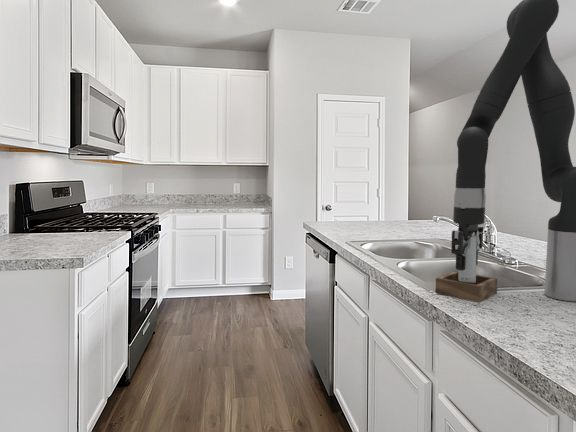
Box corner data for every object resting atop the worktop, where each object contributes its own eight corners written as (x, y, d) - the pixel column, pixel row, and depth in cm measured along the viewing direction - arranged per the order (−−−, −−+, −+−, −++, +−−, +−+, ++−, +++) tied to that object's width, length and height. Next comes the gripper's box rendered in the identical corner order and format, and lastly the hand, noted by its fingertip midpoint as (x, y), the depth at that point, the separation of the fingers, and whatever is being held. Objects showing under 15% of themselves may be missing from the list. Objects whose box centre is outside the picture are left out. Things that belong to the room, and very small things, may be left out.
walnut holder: (454, 284, 115) (455, 271, 115) (496, 293, 107) (497, 278, 106) (435, 292, 108) (435, 278, 107) (478, 302, 99) (479, 286, 99)
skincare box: (476, 283, 103) (478, 236, 102) (457, 281, 105) (459, 235, 103) (474, 277, 109) (476, 233, 108) (457, 276, 110) (458, 232, 109)
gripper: (466, 203, 112) (464, 261, 114) (442, 206, 103) (440, 269, 104) (495, 204, 107) (492, 265, 108) (472, 207, 97) (469, 274, 99)
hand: (466, 267), depth 106 cm, fingers closed on skincare box, 7 cm apart
